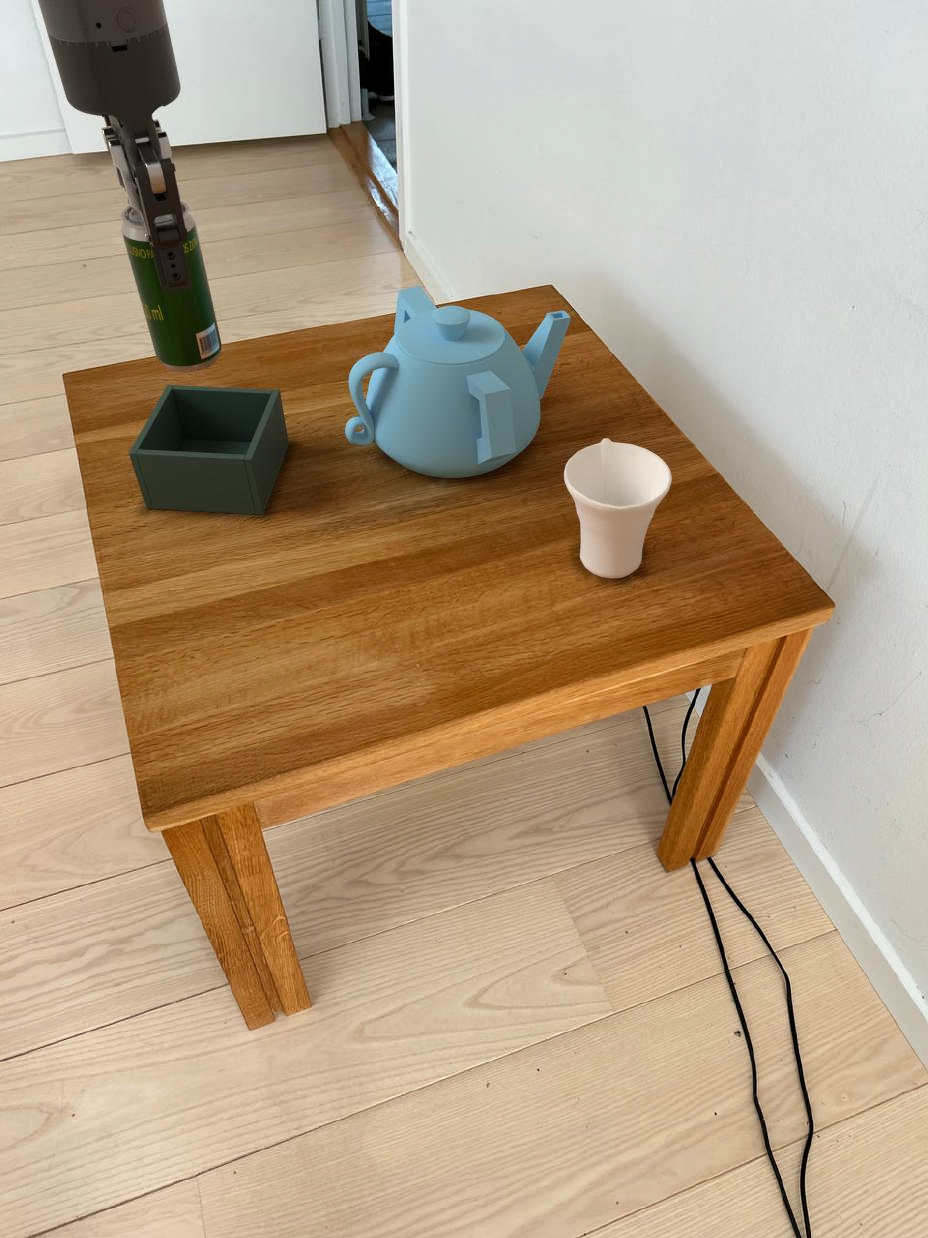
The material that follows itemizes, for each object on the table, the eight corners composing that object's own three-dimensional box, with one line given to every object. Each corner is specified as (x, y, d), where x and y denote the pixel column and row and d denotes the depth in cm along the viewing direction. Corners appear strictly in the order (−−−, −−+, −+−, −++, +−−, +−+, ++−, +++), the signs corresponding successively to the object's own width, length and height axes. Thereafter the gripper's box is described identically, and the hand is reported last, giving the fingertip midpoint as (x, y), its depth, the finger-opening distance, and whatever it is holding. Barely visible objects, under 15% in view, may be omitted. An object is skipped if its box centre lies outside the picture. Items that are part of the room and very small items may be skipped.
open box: (146, 508, 89) (128, 453, 84) (181, 438, 97) (167, 384, 92) (263, 515, 88) (251, 459, 83) (289, 444, 96) (280, 389, 91)
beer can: (235, 346, 78) (205, 202, 69) (202, 379, 75) (166, 232, 66) (179, 335, 79) (143, 192, 71) (144, 367, 76) (102, 221, 67)
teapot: (500, 509, 88) (504, 382, 78) (324, 462, 94) (307, 337, 84) (565, 405, 100) (576, 284, 91) (406, 369, 106) (400, 250, 96)
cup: (643, 522, 87) (659, 433, 80) (664, 591, 81) (684, 502, 73) (550, 526, 87) (557, 437, 79) (563, 596, 80) (572, 507, 73)
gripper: (31, -2, 63) (103, 243, 75) (61, 58, 54) (138, 325, 66) (143, -14, 65) (195, 226, 77) (189, 41, 56) (240, 303, 68)
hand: (168, 271), depth 72 cm, fingers closed on beer can, 5 cm apart
